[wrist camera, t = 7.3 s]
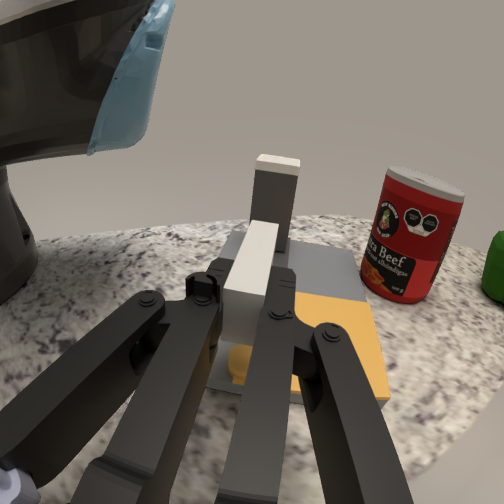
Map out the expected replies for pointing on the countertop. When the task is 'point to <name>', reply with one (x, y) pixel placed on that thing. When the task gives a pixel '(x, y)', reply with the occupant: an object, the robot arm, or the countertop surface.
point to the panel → (311, 313)
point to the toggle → (275, 193)
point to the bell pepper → (495, 269)
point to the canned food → (410, 234)
